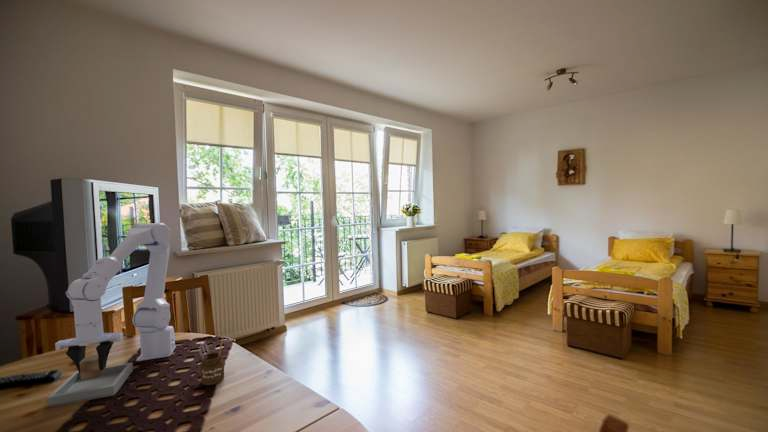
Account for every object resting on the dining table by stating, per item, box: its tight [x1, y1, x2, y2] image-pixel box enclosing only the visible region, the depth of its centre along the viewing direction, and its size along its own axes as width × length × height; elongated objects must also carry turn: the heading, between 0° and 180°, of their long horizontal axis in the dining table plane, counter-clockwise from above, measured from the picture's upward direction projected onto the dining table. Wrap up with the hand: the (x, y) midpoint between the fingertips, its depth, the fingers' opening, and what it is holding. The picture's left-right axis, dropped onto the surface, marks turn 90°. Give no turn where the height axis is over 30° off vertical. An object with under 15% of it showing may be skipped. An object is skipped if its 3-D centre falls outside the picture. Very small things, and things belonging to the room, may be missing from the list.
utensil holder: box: [199, 335, 225, 386], centre depth 96 cm, size 6×6×12 cm
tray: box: [46, 362, 134, 408], centre depth 95 cm, size 14×14×2 cm
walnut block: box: [79, 353, 105, 380], centre depth 94 cm, size 4×4×5 cm
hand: (92, 370), depth 94 cm, fingers closed on walnut block, 4 cm apart
